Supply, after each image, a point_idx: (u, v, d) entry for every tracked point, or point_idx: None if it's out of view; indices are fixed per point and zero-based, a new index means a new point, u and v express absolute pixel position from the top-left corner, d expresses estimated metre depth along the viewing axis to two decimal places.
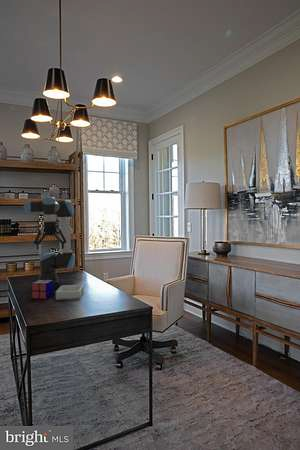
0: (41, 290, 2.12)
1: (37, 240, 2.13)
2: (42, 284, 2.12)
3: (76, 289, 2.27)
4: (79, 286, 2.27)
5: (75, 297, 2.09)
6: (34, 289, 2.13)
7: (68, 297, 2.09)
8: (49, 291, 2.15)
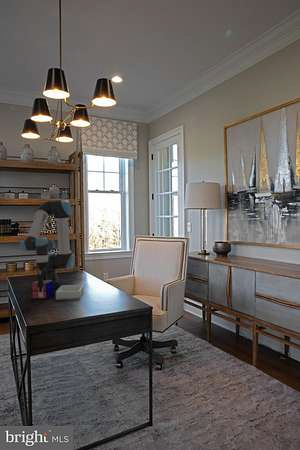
0: None
1: None
2: None
3: (76, 289, 2.27)
4: (79, 286, 2.27)
5: (75, 297, 2.09)
6: (34, 289, 2.13)
7: (68, 297, 2.09)
8: (49, 291, 2.15)
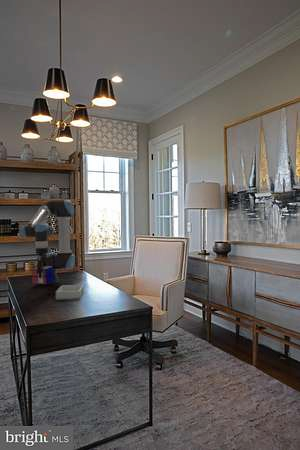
0: None
1: None
2: (42, 270, 2.12)
3: (76, 289, 2.27)
4: (79, 286, 2.27)
5: (75, 297, 2.09)
6: (34, 275, 2.13)
7: (68, 297, 2.09)
8: (49, 277, 2.15)
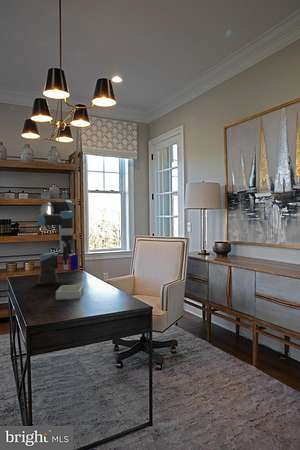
0: None
1: (70, 252, 2.25)
2: None
3: (76, 289, 2.27)
4: (79, 286, 2.27)
5: (75, 297, 2.09)
6: (59, 262, 2.13)
7: (68, 297, 2.09)
8: (74, 264, 2.16)
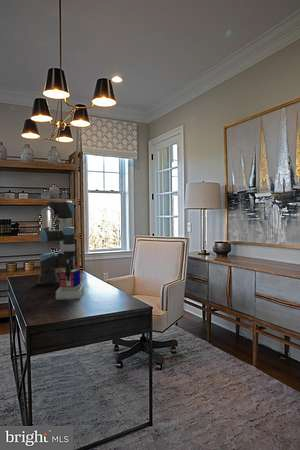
0: None
1: (72, 268, 2.26)
2: (70, 273, 2.13)
3: (76, 289, 2.27)
4: (79, 286, 2.27)
5: (75, 297, 2.09)
6: (62, 278, 2.14)
7: (68, 297, 2.09)
8: (76, 280, 2.16)
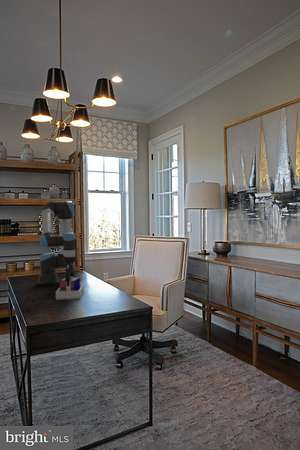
0: None
1: None
2: None
3: None
4: None
5: (75, 297, 2.09)
6: (62, 286, 2.14)
7: (68, 297, 2.09)
8: (76, 288, 2.17)
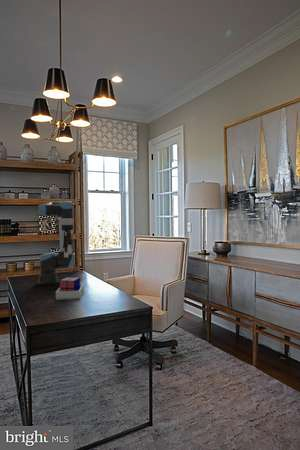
0: (69, 287, 2.13)
1: (70, 240, 2.34)
2: (70, 281, 2.13)
3: None
4: None
5: (75, 297, 2.09)
6: (62, 286, 2.14)
7: (68, 297, 2.09)
8: (76, 288, 2.17)
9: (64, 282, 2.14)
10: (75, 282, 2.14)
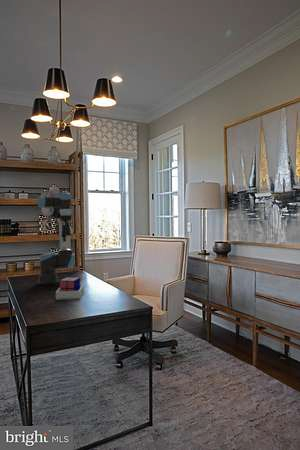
0: (69, 287, 2.13)
1: None
2: (70, 281, 2.13)
3: None
4: None
5: (75, 297, 2.09)
6: (62, 286, 2.14)
7: (68, 297, 2.09)
8: (76, 288, 2.17)
9: (64, 282, 2.14)
10: (75, 282, 2.14)
